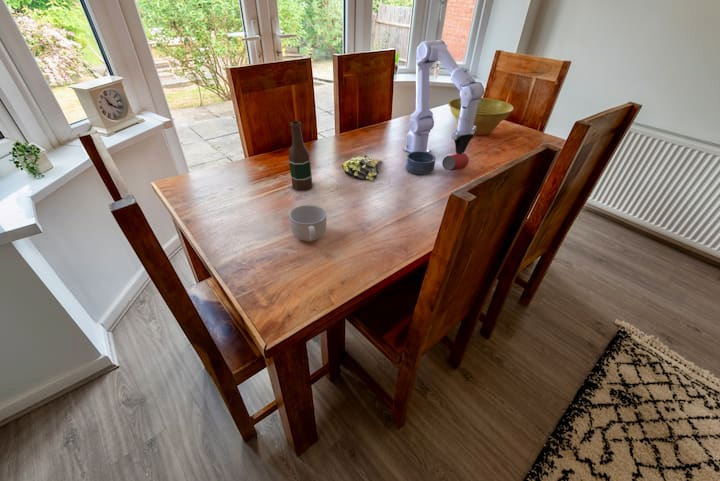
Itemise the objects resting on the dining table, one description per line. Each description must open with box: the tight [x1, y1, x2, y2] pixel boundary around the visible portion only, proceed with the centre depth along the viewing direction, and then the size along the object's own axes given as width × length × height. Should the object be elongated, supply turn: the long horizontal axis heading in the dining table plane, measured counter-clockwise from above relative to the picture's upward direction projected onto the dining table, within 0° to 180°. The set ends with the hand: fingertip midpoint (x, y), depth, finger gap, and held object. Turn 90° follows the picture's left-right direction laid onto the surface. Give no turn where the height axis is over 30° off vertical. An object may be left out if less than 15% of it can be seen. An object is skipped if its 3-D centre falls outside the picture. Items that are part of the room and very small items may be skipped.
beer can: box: [441, 152, 470, 172], centre depth 130 cm, size 7×7×12 cm
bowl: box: [405, 151, 437, 175], centre depth 133 cm, size 12×12×6 cm
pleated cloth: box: [341, 153, 382, 182], centre depth 134 cm, size 20×16×6 cm
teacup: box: [288, 204, 328, 242], centre depth 94 cm, size 14×11×8 cm
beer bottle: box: [288, 120, 313, 192], centre depth 115 cm, size 8×8×24 cm
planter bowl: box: [447, 97, 515, 136], centre depth 168 cm, size 32×32×13 cm
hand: (460, 152), depth 130 cm, fingers closed
